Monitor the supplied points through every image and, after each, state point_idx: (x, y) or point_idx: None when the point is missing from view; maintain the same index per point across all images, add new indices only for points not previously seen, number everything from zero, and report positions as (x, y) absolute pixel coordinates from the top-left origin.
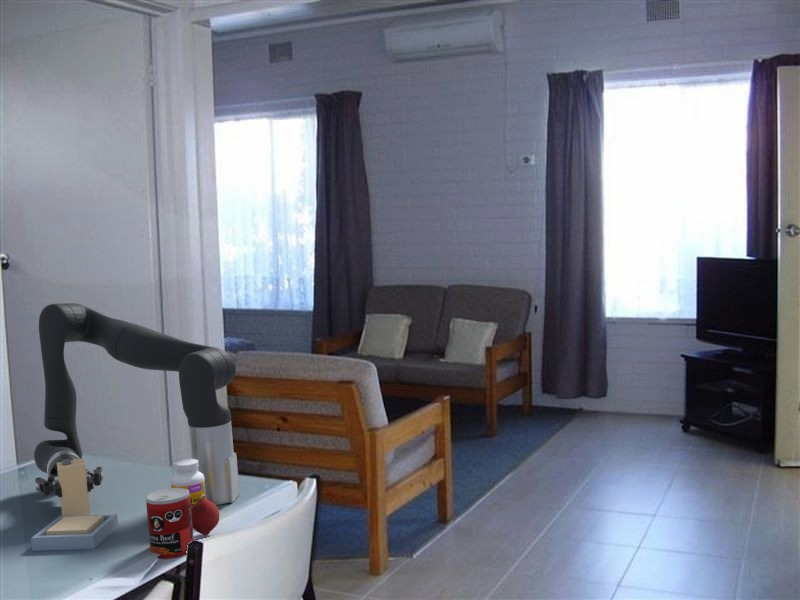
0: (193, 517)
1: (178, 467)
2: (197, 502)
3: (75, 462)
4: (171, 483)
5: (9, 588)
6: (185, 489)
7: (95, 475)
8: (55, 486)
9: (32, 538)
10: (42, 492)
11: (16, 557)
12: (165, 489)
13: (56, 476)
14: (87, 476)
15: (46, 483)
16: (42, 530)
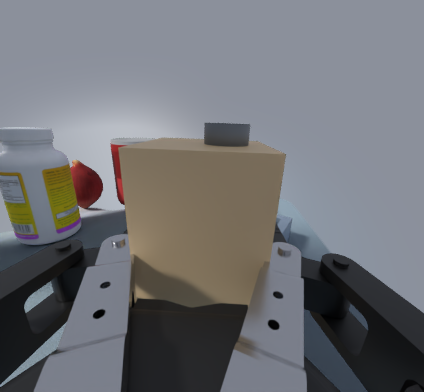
0: (101, 180)
1: (52, 133)
2: (86, 167)
3: (184, 142)
4: (62, 164)
5: (290, 203)
6: (113, 139)
7: (81, 244)
8: (275, 239)
9: (289, 218)
10: (358, 324)
11: (314, 250)
12: (125, 141)
13: (291, 279)
14: (126, 237)
15: (329, 254)
16: (280, 230)
